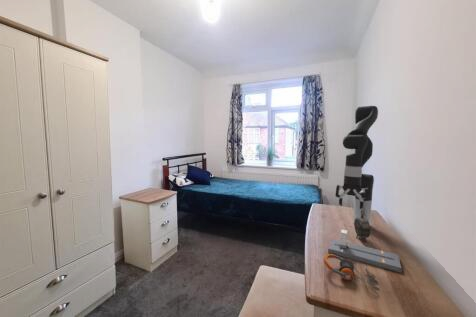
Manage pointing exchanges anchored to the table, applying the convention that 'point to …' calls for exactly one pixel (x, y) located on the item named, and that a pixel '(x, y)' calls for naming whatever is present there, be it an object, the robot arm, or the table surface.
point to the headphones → (347, 270)
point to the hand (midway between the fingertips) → (350, 207)
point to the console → (366, 255)
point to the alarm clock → (362, 227)
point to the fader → (343, 239)
